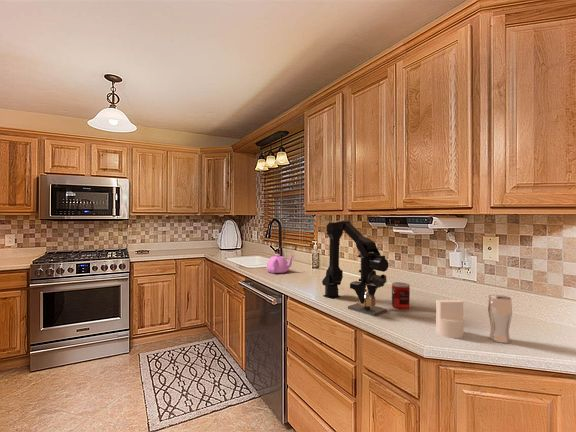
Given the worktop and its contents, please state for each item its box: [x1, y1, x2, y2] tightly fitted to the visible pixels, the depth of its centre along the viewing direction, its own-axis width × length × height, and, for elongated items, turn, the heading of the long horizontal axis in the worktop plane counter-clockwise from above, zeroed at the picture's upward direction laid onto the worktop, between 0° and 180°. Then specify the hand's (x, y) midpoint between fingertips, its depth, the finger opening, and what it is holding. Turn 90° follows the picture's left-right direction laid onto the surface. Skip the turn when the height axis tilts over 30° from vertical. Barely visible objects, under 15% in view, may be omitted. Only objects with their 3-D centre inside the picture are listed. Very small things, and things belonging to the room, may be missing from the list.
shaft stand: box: [347, 291, 388, 317], centre depth 140 cm, size 14×10×8 cm
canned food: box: [391, 281, 411, 310], centre depth 144 cm, size 8×8×11 cm
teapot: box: [265, 253, 295, 274], centre depth 232 cm, size 22×22×14 cm
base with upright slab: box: [435, 299, 465, 339], centre depth 112 cm, size 9×9×12 cm
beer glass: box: [487, 294, 513, 344], centre depth 107 cm, size 7×7×15 cm
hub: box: [358, 295, 376, 307], centre depth 140 cm, size 7×7×4 cm
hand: (366, 302), depth 140 cm, fingers closed on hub, 7 cm apart
